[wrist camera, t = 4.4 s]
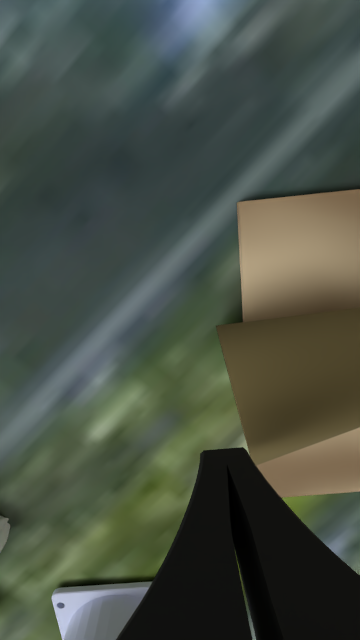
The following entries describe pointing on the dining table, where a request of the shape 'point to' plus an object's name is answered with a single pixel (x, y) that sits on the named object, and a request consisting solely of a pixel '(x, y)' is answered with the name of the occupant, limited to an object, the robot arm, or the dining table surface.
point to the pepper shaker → (294, 379)
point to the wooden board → (304, 307)
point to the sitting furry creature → (3, 531)
